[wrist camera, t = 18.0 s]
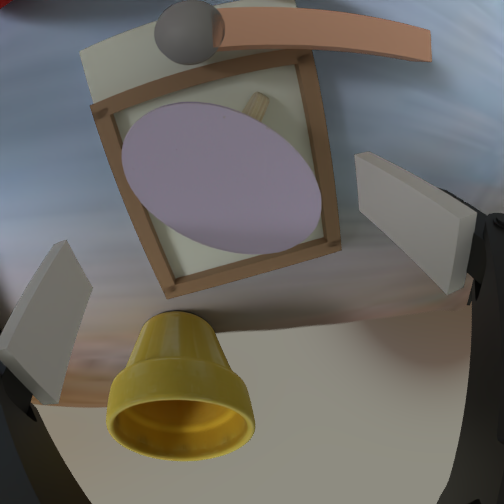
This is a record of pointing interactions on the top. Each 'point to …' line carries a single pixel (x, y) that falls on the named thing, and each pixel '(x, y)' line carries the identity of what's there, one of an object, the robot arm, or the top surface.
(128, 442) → the plant pot
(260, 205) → the toy table
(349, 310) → the top surface
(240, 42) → the bar
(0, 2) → the ceramic cup
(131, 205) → the seating jig
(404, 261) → the top surface
